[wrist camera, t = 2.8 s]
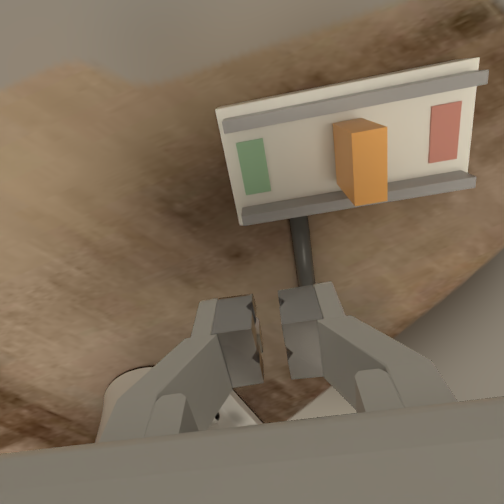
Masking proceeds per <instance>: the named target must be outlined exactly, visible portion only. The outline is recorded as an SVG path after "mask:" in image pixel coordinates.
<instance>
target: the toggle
mask: <svg viewBox="0 0 504 504" xmlns="http://www.w3.org/2000/svg"><path fill="white" fill-rule="evenodd" d="M333 137H334V151H335V165H336V179H337V185H338V186H339V187H340V188H341V190H342V191H343V192H344V193H345V195H346V196H347V197H348V198H349V200H350V201H351V202H352V203H353V205H354V206H360V205H366V204H372V203H378V202H384V201H388V173H387V127H386V126H384V125H381V124H378V123H375V122H372V121H369V120H366V119H364V118H357V119H352V120H347V121H341V122H336V123H333Z"/></svg>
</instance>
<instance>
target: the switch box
mask: <svg viewBox="0 0 504 504" xmlns="http://www.w3.org/2000/svg"><path fill="white" fill-rule="evenodd" d="M479 58H480V57H477V58H467V59H458V60H452V61H447V62H442V63H437V64H431V65H426V66H421V67H416V68H411V69H406V70H401V71H396V72H391V73H386V74H381V75H376V76H371V77H366V78H361V79H356V80H351V81H346V82H341V83H336V84H331V85H326V86H321V87H316V88H310V89H305V90H300V91H295V92H290V93H285V94H280V95H275V96H270V97H265V98H260V99H255V100H250V101H245V102H240V103H235V104H230V105H225V106H220V107H218V108H217V109H215V112H216V116H217V121H218V126H219V130H220V135H221V140H222V144H223V149H224V154H225V159H226V163H227V168H228V173H229V177H230V182H231V187H232V191H233V196H234V201H235V205H236V210H237V215H238V220H239V224H240V225H243V226H247V225H253V224H259V223H265V222H271V221H277V220H283V219H290V227H291V234H292V241H293V248H294V255H295V262H296V269H297V276H298V283H299V287H302V286H308V285H313V284H315V277H314V268H313V260H312V251H311V242H310V234H309V225H308V216H307V215H313V214H319V213H325V212H331V211H337V210H343V209H349V208H355V207H361V206H367V205H373V204H379V203H385V202H391V201H397V200H403V199H409V198H415V197H421V196H427V195H433V194H439V193H445V192H451V191H457V190H463V189H470V188H475V185H476V176H474V175H471V174H469V173H468V163H469V154H470V144H471V135H472V125H473V116H474V106H475V97H476V87H477V86H479V85H484V84H487V82H488V74H489V70H478V68H479ZM357 118H364V119H366V120H369V121H372V122H375V123H378V124H381V125H384V126H386V127H387V173H388V201H384V202H378V203H372V204H366V205H360V206H354V205H353V203H352V202H351V201H350V200H349V198H348V197H347V196H346V195H345V193H344V192H343V191H342V190H341V188H340V187H339V186H338V185H337V179H336V165H335V151H334V137H333V123H336V122H341V121H347V120H352V119H357Z"/></svg>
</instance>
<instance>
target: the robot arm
mask: <svg viewBox="0 0 504 504" xmlns="http://www.w3.org/2000/svg"><path fill="white" fill-rule="evenodd" d="M278 297H279V303H280V315H281V323H282V329H283V335H284V341H285V346H286V350H287V357H288V364H289V369H290V374H291V379H302V378H312V377H323V376H324V378H325V379H326V380H327V381H328V382H329V383H330V384H331V385H332V386H333V387H334V388H335V389H336V390H337V391H338V392H339V393H340V394H341V395H342V396H343V397H344V398H345V399H346V400H347V401H348V402H349V403H350V404H351V405H352V406H353V407H354V408H355V409H356V410H357V413H353V414H344V415H335V416H326V417H317V418H309V419H301V420H291V421H283V422H274V423H266V424H263V423H262V422H261V421H260V420H259V419H258V417H257V416H256V415H255V414H254V413H253V412H252V411H251V410H250V409H249V407H248V406H247V405H246V404H245V403H244V402H243V401H242V400H241V399H240V397H239V396H238V395H237V394H236V393H235V392H234V391H233V389H232V388H234V387H241V386H247V385H254V384H260V383H264V369H263V360H262V355H261V354H262V352H263V343H262V333H261V327H260V322H259V319H258V318H257V317H256V304H255V299H254V296H253V294H247V295H239V296H231V297H223V298H219V299H218V298H215V299H209V300H202V301H201V302H200V303H199V306H198V310H197V313H196V317H195V321H194V325H193V329H192V333H191V337H190V338H185V339H184V340H183V341H182V342H181V343H180V344H179V345H177V346H176V347H175V348H174V349H173V350H172V351H171V352H170V353H169V354H167V355H166V356H165V357H164V358H163V359H162V360H161V361H160V362H158V363H157V364H156V365H155V366H154V367H147V368H140V369H136V370H132V371H129V372H127V373H125V374H123V375H121V376H119V377H118V378H116V379H115V380H114V381H113V382H112V383H111V384H110V385H109V386H108V388H107V390H106V392H105V395H104V402H103V410H102V416H101V421H100V425H99V429H98V433H97V437H96V440H95V443H92V444H83V445H74V446H65V447H57V448H48V449H39V450H30V451H22V452H13V453H4V454H0V504H504V396H502V397H494V398H485V399H477V400H469V401H460V402H458V401H457V399H456V398H455V396H454V395H453V393H452V391H451V390H450V388H449V387H448V385H447V384H446V382H445V380H444V379H443V378H442V376H441V374H440V373H439V371H438V369H437V368H436V366H435V365H434V363H433V362H432V360H430V359H428V358H426V357H424V356H423V355H421V354H419V353H417V352H415V351H414V350H412V349H410V348H408V347H407V346H405V345H403V344H401V343H399V342H398V341H396V340H394V339H392V338H391V337H389V336H387V335H385V334H384V333H382V332H380V331H378V330H376V329H375V328H373V327H371V326H369V325H367V324H366V323H364V322H362V321H360V320H359V319H357V318H355V317H353V316H351V315H350V316H346V315H345V313H344V310H343V308H342V305H341V303H340V300H339V298H338V295H337V293H336V290H335V288H334V285H333V283H332V282H331V281H329V282H323V283H318V284H313V285H308V286H302V287H296V288H290V289H284V290H278Z"/></svg>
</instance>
